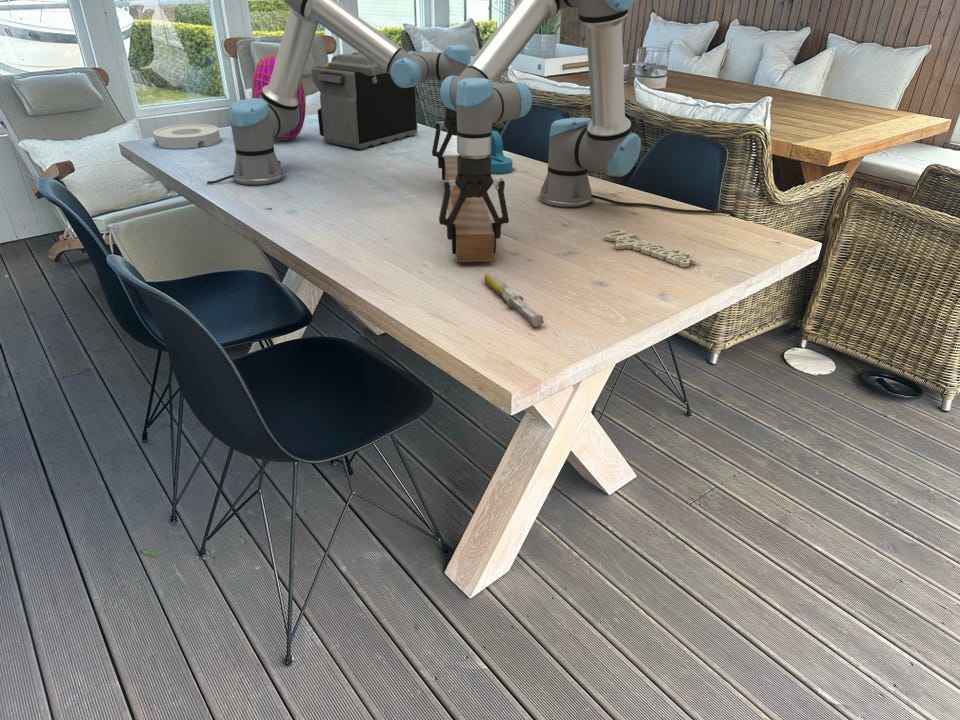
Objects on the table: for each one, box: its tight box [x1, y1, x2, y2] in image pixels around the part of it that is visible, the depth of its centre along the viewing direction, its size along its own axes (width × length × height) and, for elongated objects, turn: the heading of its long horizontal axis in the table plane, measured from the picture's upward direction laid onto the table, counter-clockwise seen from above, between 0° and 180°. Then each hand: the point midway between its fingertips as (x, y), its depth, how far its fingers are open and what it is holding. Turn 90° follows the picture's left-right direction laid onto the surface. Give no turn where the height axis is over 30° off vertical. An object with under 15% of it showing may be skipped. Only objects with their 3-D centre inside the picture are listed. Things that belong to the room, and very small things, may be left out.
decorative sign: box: [605, 228, 696, 268], centre depth 169 cm, size 26×1×10 cm
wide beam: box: [443, 154, 495, 263], centre depth 187 cm, size 71×9×7 cm, turn 5°
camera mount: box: [489, 130, 513, 174], centre depth 231 cm, size 18×10×10 cm, turn 35°
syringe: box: [483, 271, 545, 328], centre depth 142 cm, size 25×4×3 cm, turn 21°
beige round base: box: [152, 123, 221, 150], centre depth 260 cm, size 23×23×4 cm
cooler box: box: [311, 51, 418, 150], centre depth 260 cm, size 37×22×30 cm, turn 144°
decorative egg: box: [251, 54, 307, 142], centre depth 257 cm, size 19×19×30 cm
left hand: (458, 178), depth 215 cm, fingers closed on wide beam, 9 cm apart
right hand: (473, 251), depth 162 cm, fingers closed on wide beam, 9 cm apart
